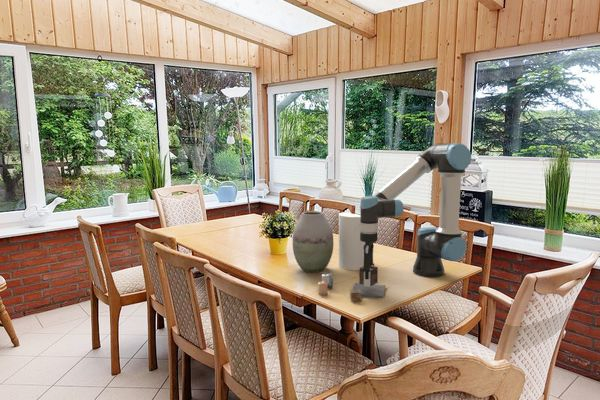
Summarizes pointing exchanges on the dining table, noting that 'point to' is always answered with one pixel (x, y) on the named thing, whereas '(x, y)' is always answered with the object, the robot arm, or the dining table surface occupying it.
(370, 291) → the slate board
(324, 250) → the vase
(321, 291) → the peach rounded capsule
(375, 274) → the box
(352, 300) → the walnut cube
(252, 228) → the dining table surface
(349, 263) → the cylinder
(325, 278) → the metal-capped glass jar
